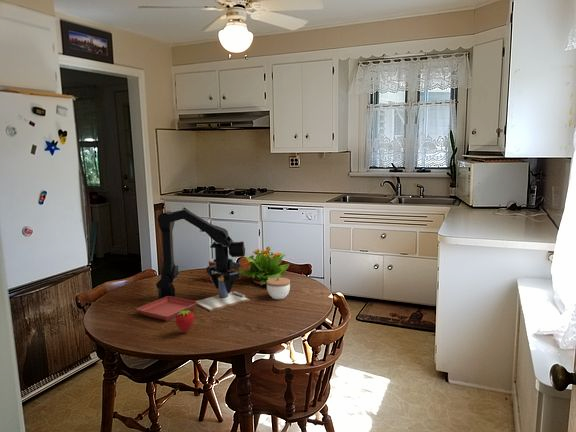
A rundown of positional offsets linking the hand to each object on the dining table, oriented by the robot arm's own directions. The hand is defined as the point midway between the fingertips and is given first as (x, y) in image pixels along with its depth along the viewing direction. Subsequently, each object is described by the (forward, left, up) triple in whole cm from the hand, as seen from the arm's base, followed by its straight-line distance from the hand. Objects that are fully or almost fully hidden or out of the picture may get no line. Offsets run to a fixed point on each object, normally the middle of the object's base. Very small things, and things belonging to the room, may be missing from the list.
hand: (223, 290), depth 199 cm
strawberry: (-31, -23, -4) cm, 39 cm away
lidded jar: (+19, -16, -4) cm, 25 cm away
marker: (0, 0, -3) cm, 3 cm away
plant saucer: (-26, +2, -4) cm, 26 cm away
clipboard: (-3, -3, -4) cm, 6 cm away
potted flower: (+29, +9, -4) cm, 31 cm away
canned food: (+13, +26, -4) cm, 29 cm away
